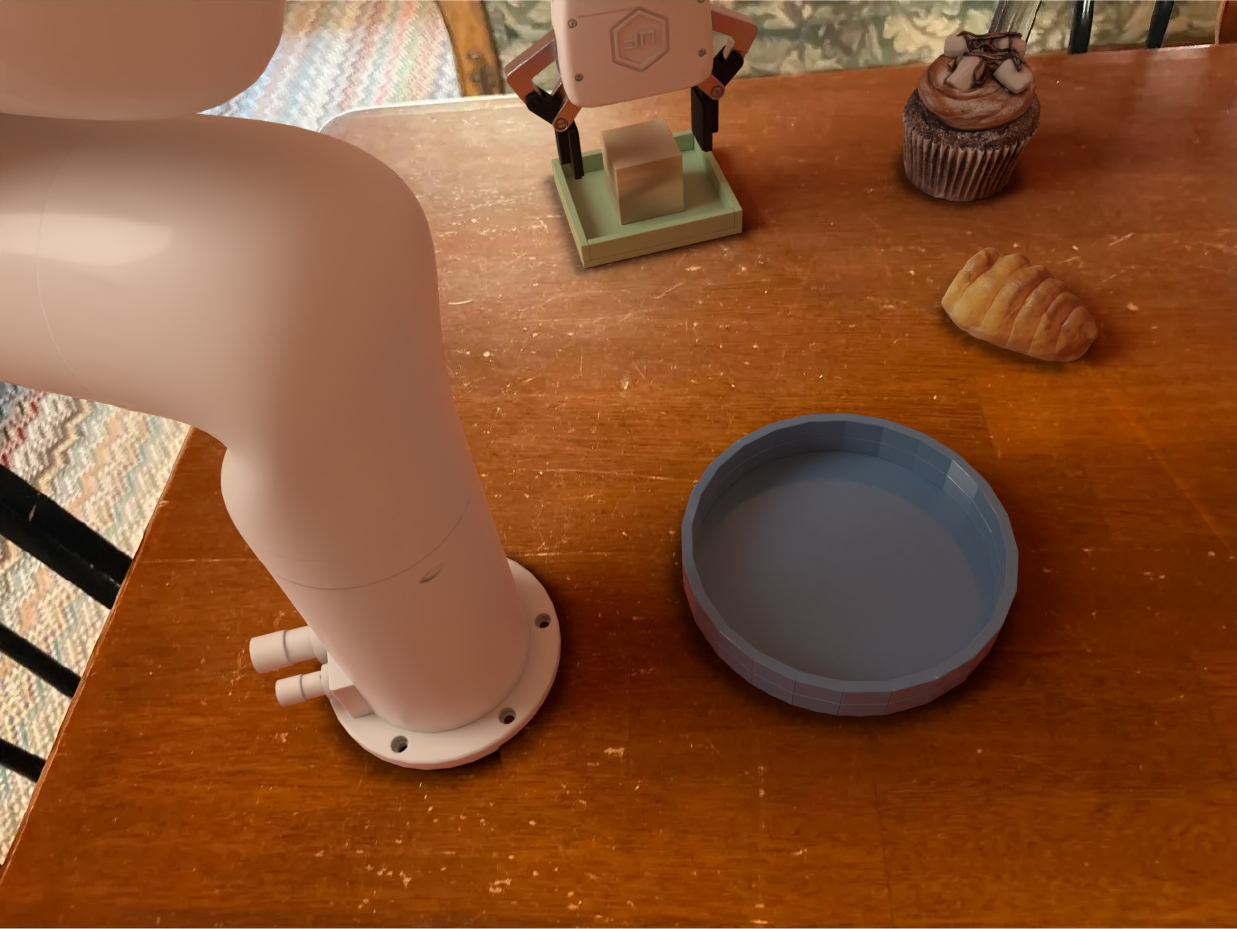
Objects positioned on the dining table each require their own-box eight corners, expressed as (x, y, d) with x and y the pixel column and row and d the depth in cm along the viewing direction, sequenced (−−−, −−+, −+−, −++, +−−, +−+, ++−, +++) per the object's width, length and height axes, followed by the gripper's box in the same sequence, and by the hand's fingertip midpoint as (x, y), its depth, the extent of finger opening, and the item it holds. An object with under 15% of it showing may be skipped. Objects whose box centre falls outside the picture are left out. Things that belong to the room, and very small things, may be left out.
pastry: (1110, 330, 61) (1130, 286, 58) (1055, 389, 59) (1073, 347, 56) (983, 268, 66) (995, 225, 63) (926, 321, 63) (936, 278, 60)
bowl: (739, 759, 46) (740, 733, 43) (649, 489, 57) (646, 453, 54) (1063, 670, 47) (1085, 639, 45) (918, 422, 58) (928, 384, 55)
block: (621, 225, 71) (615, 169, 67) (605, 187, 74) (599, 131, 70) (684, 211, 71) (682, 154, 67) (666, 173, 74) (664, 117, 70)
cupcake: (881, 139, 76) (901, 17, 68) (1003, 128, 75) (1037, 4, 67) (906, 213, 70) (931, 90, 62) (1039, 203, 69) (1080, 77, 61)
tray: (583, 268, 69) (580, 246, 68) (554, 181, 76) (550, 159, 74) (742, 232, 70) (742, 209, 68) (699, 149, 77) (698, 126, 75)
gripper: (487, -44, 53) (533, 209, 66) (781, -100, 54) (768, 159, 67) (469, -95, 57) (515, 151, 71) (740, -146, 59) (735, 105, 72)
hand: (639, 155), depth 69 cm, fingers open, 9 cm apart
